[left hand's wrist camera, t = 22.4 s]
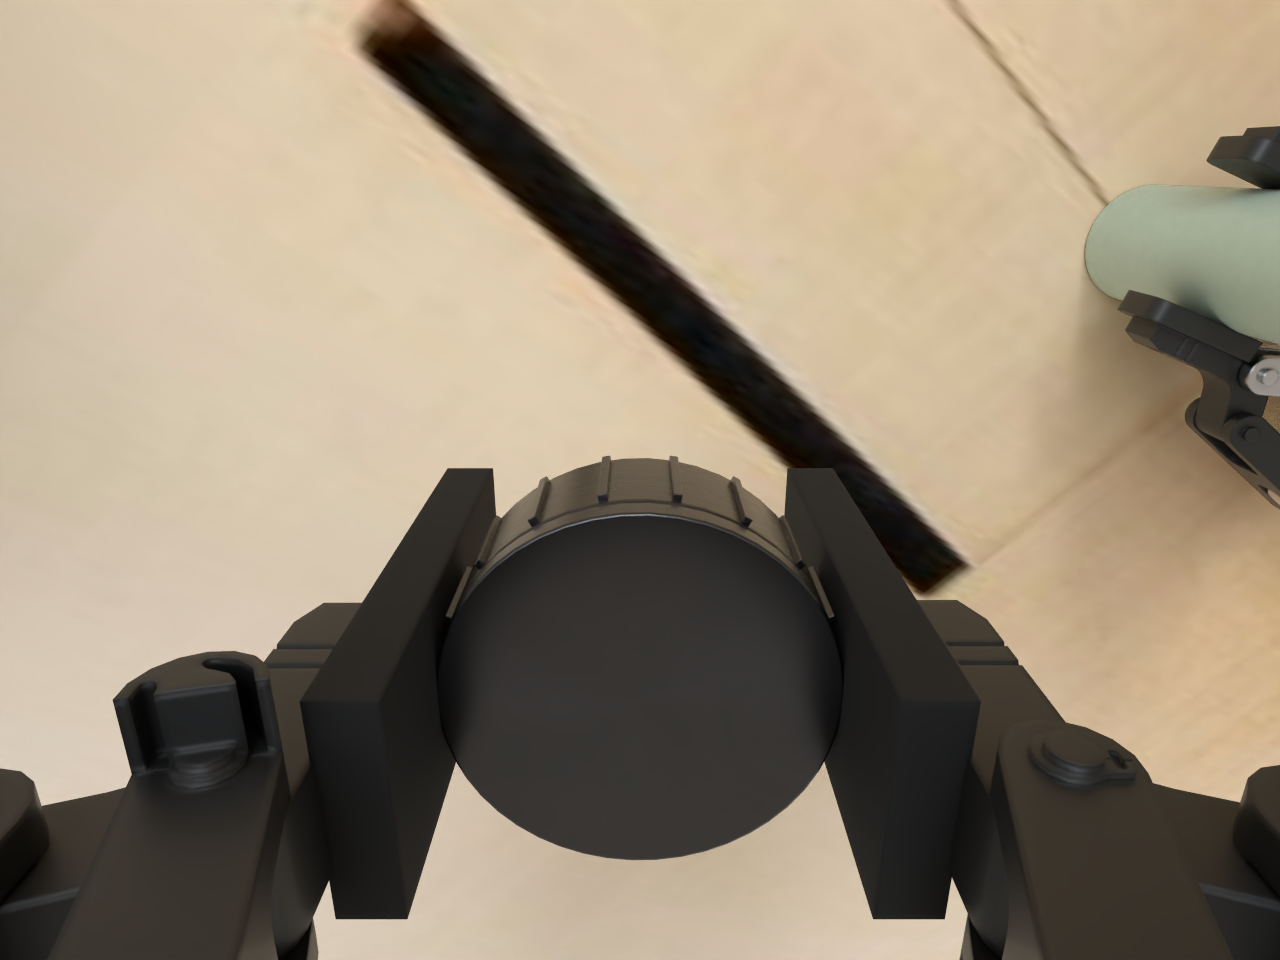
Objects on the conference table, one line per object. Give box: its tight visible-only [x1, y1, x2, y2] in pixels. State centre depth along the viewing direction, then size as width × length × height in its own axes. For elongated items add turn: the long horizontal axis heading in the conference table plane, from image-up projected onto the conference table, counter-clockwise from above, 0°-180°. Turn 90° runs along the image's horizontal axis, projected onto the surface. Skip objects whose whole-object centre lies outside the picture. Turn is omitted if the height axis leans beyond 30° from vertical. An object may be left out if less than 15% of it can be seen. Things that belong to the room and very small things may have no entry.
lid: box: [436, 456, 844, 860], centre depth 11 cm, size 5×5×2 cm
